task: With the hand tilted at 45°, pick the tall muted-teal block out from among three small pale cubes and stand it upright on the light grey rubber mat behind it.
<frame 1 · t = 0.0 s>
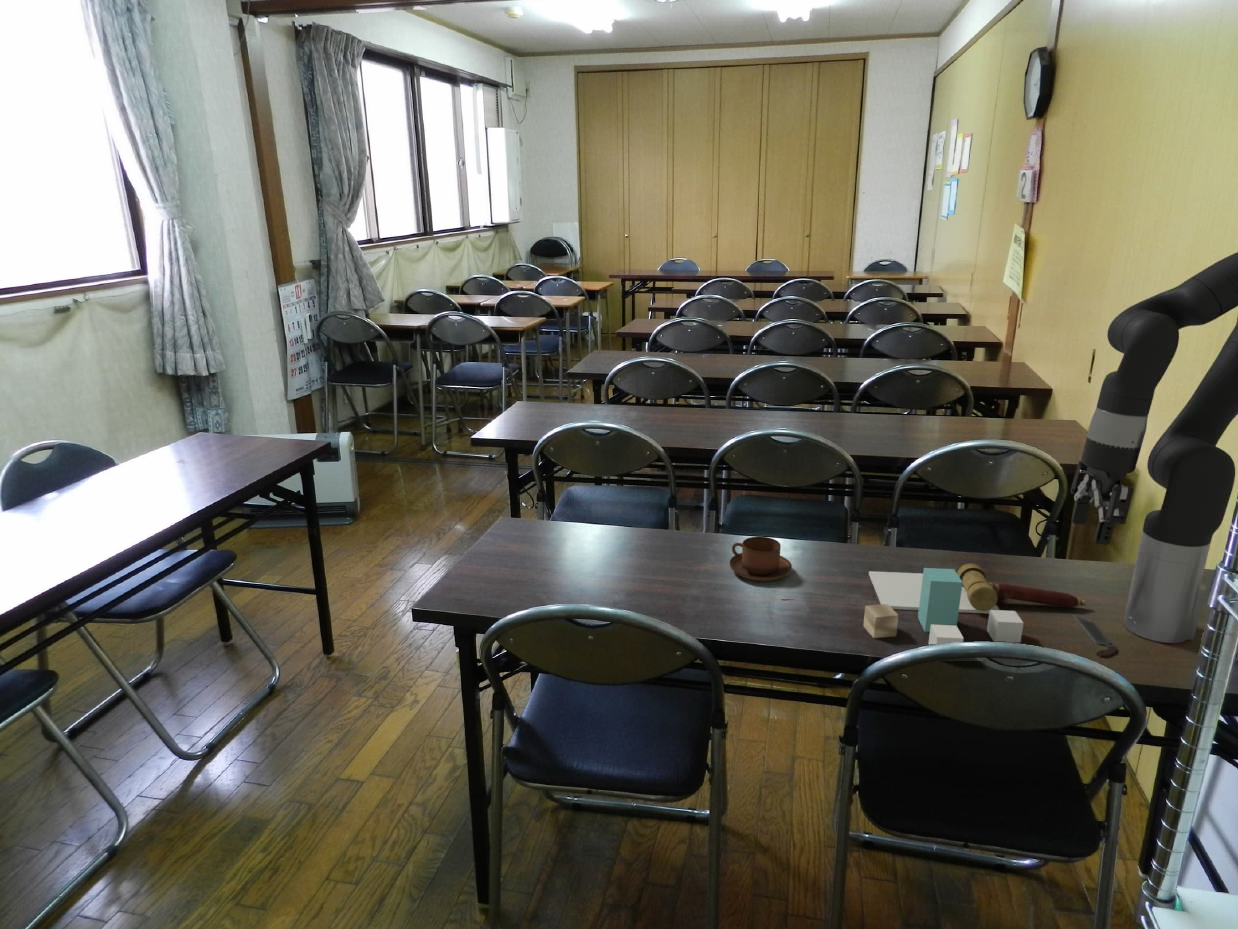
hand: (1089, 533, 131), 17 cm above the table, tool pointing down, fingers open, 8 cm apart
grey cube left: (1003, 637, 133), on the table
teal block: (936, 625, 137), on the table
knife: (1092, 638, 133), on the table
birch cube right: (879, 631, 136), on the table
gavel: (1022, 603, 144), on the table, touching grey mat
cup and saucer: (760, 573, 158), on the table
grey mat: (930, 593, 148), on the table
white cube front: (944, 653, 129), on the table
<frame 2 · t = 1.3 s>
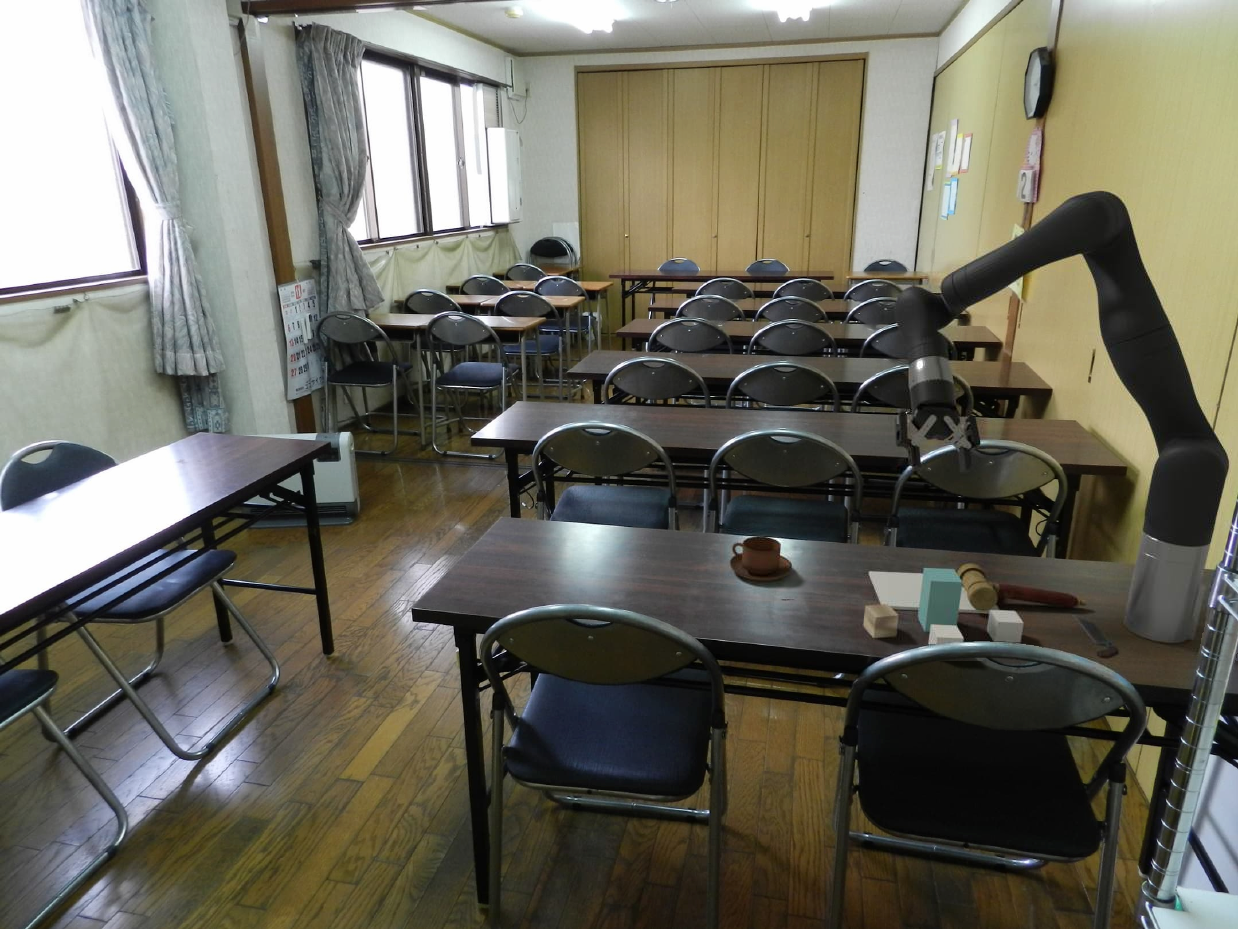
hand: (941, 469, 140), 24 cm above the table, tool tilted 40°, fingers open, 8 cm apart
nothing on the table moved.
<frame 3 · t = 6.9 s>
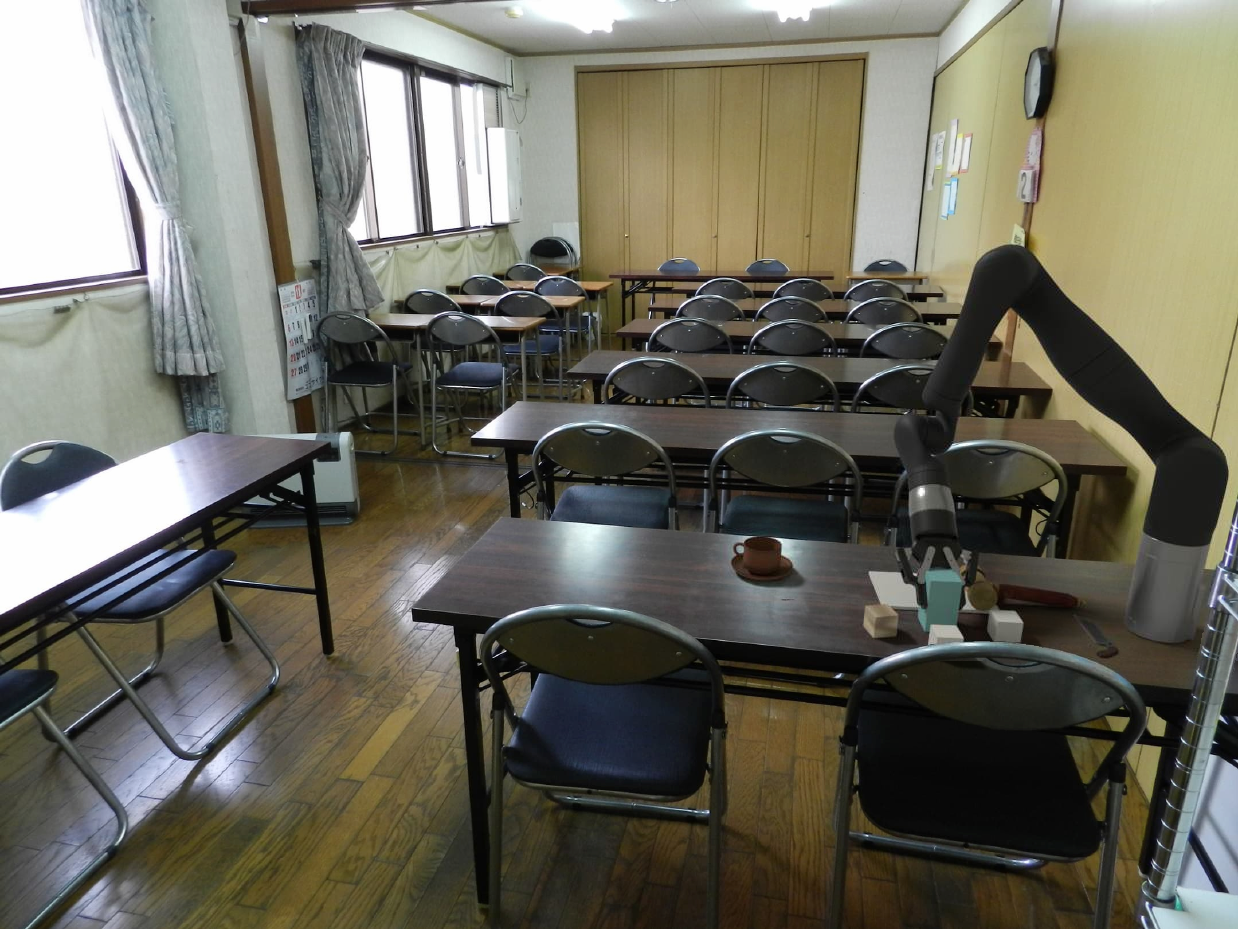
hand: (942, 608, 134), 4 cm above the table, tool tilted 45°, fingers closed on teal block, 5 cm apart
teal block: (936, 625, 137), on the table, touching gripper
everything else where it was.
when the fingers open (6 cm above the table, at t = 12.4 s): teal block drops 1 cm, resting on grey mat.
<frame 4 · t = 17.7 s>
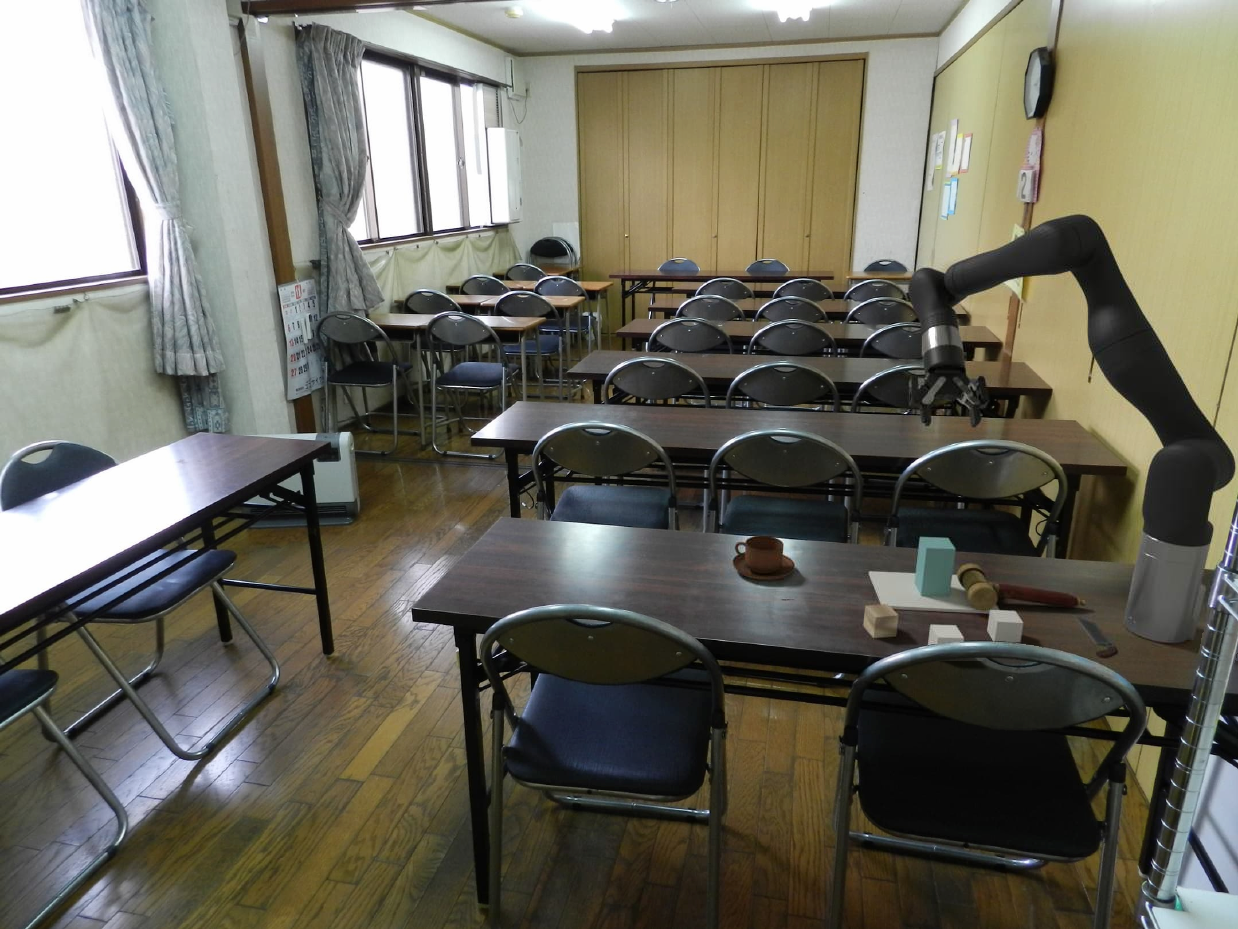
hand: (951, 424, 152), 29 cm above the table, tool tilted 45°, fingers open, 8 cm apart
teal block: (931, 590, 148), point 1 cm above the table, touching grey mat
everything else where it was.
at the end: teal block inside the target area on the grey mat (0.1 cm from its centre), point 0.6 cm above the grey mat's base; teal block tilted 0°; the gripper is holding nothing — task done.
